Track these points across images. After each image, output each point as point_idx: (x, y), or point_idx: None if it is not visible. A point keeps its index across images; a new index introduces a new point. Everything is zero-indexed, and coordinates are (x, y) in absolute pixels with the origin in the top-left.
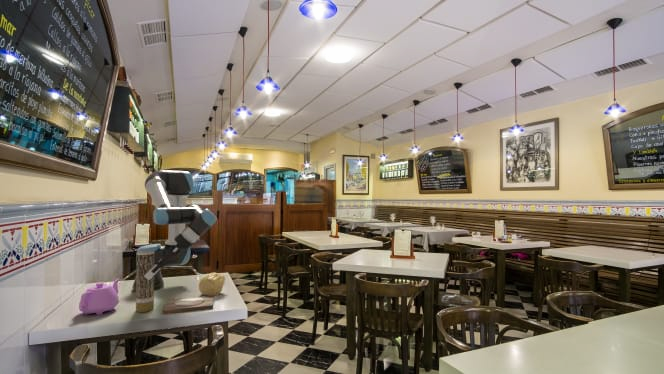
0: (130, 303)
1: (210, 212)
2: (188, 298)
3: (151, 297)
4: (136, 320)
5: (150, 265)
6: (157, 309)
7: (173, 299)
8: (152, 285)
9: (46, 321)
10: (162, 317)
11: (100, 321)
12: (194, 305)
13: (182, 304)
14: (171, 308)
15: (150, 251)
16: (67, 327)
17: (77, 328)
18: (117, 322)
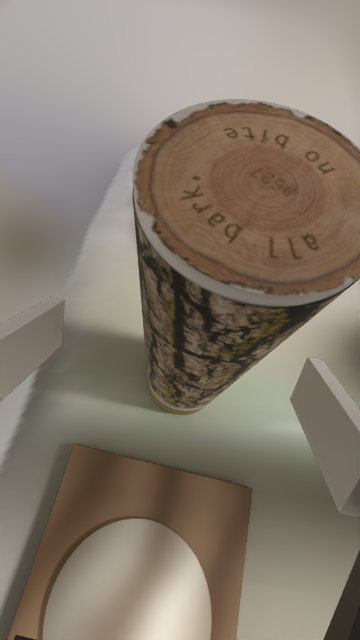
0: (315, 337)
1: None
2: (200, 618)
3: (158, 395)
4: (62, 346)
5: (151, 323)
6: (165, 430)
7: (245, 520)
8: (164, 388)
9: None
10: (26, 441)
11: (133, 253)
12: (44, 637)
13: (89, 559)
14: (76, 490)
15: (334, 247)
16: (131, 191)
17: (103, 208)
18: (85, 293)
